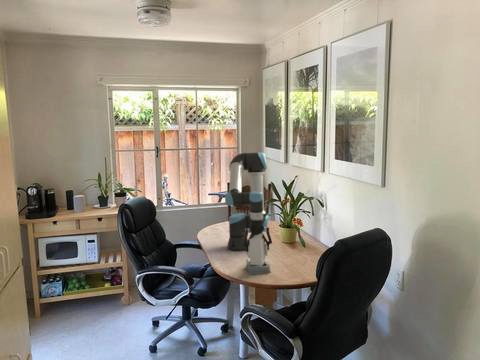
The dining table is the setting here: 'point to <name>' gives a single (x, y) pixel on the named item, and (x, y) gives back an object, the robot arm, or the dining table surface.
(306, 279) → the dining table surface
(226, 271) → the dining table surface
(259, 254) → the milk carton
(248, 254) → the robot arm
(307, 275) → the dining table surface
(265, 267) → the seat block
